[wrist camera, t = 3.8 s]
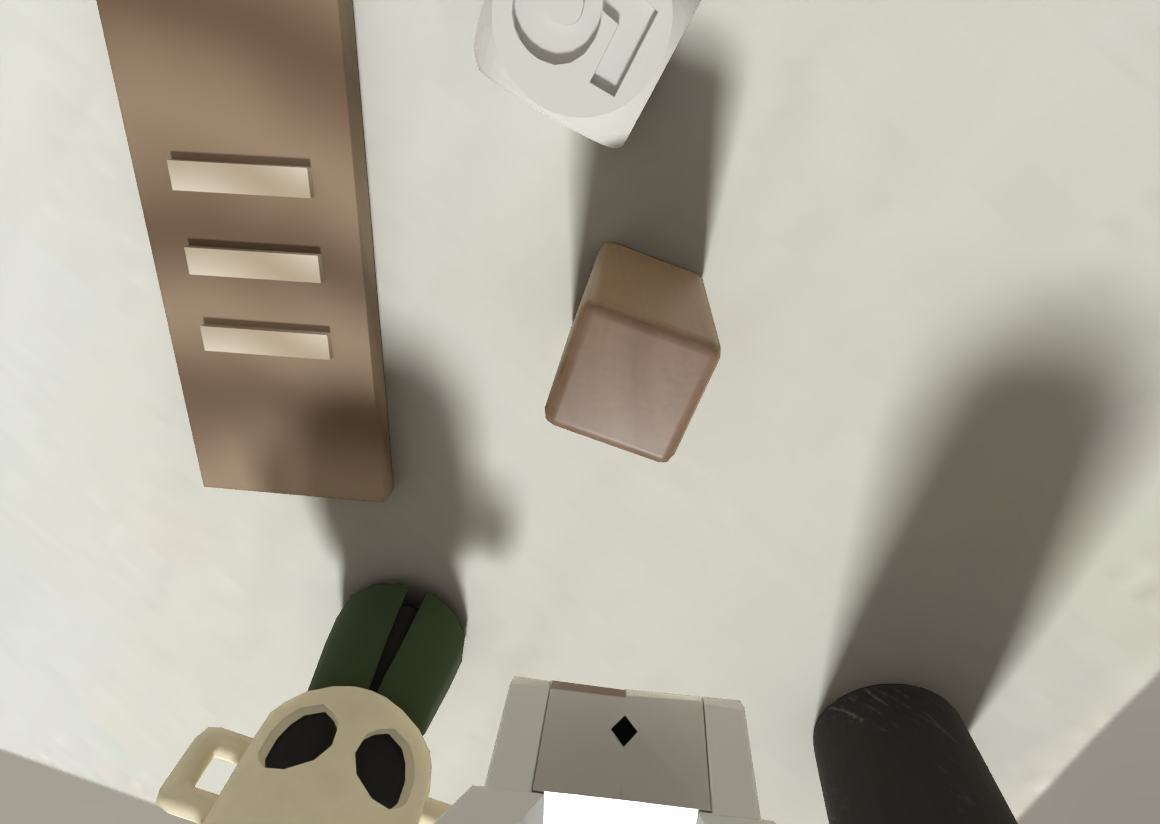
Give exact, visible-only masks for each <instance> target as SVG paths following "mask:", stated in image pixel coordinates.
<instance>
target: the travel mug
mask: <svg viewBox="0 0 1160 824" xmlns="http://www.w3.org/2000/svg"><path fill="white" fill-rule="evenodd" d="M813 744H814V752H815V757H816V762H817V767H818V772H819V777H820V782H821V787H822V792H823V796H824V801H825V806H826V811H827V815H828V820H829V824H1018V823H1017V821H1016V820H1015V818H1014V816H1013V814H1012V812H1011V810H1010V808H1009V806H1008V805H1007V803H1006V801H1005V799H1004V797H1003V795H1002V793H1001V792H1000V790H999V788H998V786H997V784H996V782H995V780H994V778H993V777H992V775H991V773H990V771H989V769H988V767H987V765H986V763H985V762H984V760H983V758H982V756H981V754H980V752H979V750H978V749H977V747H976V745H975V743H974V741H973V739H972V737H971V736H970V734H969V732H968V730H967V728H966V727H965V725H964V723H963V721H962V720H961V718H960V716H959V715H958V713H957V712H956V711H955V709H954V708H953V707H952V706H951V705H950V704H949V703H948V702H947V701H946V700H944V699H943V698H941V697H940V696H938V695H936V694H934V693H932V692H930V691H928V690H925V689H922V688H918V687H914V686H908V685H897V684H889V685H878V686H871V687H867V688H863V689H860V690H857V691H854V692H852V693H850V694H847V695H845V696H844V697H842V698H840V699H838V700H837V701H836V702H834V703H833V704H832V705H830V706H829V707H828V708H827V709H826V710H825V711H824V713H823V714H822V715H821V717H820V718H819V720H818V722H817V724H816V727H815V730H814V737H813Z"/></svg>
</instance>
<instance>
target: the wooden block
mask: <svg viewBox="0 0 1160 824" xmlns="http://www.w3.org/2000/svg"><path fill="white" fill-rule="evenodd" d="M719 359H720V343H719V339H718V336H717V332H716V328H715V324H714V321H713V317H712V313H711V309H710V306H709V302H708V298H707V294H706V291H705V287H704V283H703V279H702V278H700V277H699V276H698V275H697V274H696V273H693V272H691V271H688V270H685V269H682V268H680V267H677V266H674V265H672V264H669V263H666V262H664V261H661V260H658V259H656V258H653V257H650V256H648V255H645V254H642V253H640V252H637V251H634V250H632V249H629V248H626V247H623V246H621V245H618V244H615V243H605V244H604V245H603V246H602V247H601V248H600V249H599V252H598V255H597V257H596V260H595V263H594V266H593V268H592V271H591V274H590V277H589V280H588V282H587V285H586V288H585V291H584V293H583V296H582V299H581V302H580V305H579V307H578V310H577V313H576V316H575V318H574V321H573V324H572V327H571V330H570V333H569V336H568V339H567V342H566V345H565V348H564V351H563V354H562V357H561V360H560V363H559V366H558V369H557V372H556V375H555V378H554V382H553V385H552V388H551V391H550V394H549V397H548V400H547V403H546V406H545V414H546V419H547V420H548V421H549V422H551V423H552V424H553V425H555V426H558V427H561V428H564V429H567V430H570V431H572V432H575V433H578V434H581V435H584V436H587V437H589V438H592V439H595V440H598V441H601V442H604V443H606V444H609V445H612V446H615V447H618V448H621V449H623V450H626V451H629V452H632V453H635V454H638V455H640V456H643V457H646V458H649V459H652V460H655V461H657V462H667V461H668V460H669V459H670V458H671V457H672V456H673V455H674V454H675V452H676V450H677V448H678V446H679V443H680V441H681V439H682V437H683V435H684V433H685V431H686V429H687V427H688V424H689V422H690V420H691V418H692V416H693V414H694V412H695V410H696V408H697V405H698V403H699V401H700V399H701V397H702V395H703V393H704V391H705V388H706V386H707V384H708V382H709V380H710V378H711V376H712V374H713V372H714V369H715V367H716V365H717V363H718V361H719Z"/></svg>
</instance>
